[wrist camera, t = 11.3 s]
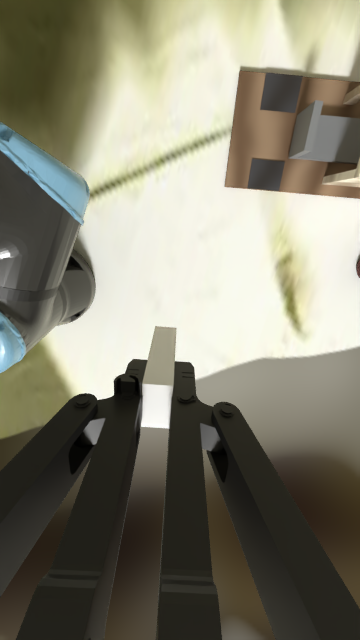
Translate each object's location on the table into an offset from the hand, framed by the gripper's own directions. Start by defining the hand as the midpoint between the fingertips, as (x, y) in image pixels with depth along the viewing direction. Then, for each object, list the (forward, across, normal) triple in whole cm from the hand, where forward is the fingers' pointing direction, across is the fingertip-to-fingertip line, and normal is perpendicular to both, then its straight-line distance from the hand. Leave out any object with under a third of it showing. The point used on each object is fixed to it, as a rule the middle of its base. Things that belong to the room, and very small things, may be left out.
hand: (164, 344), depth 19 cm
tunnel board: (+29, +22, +20) cm, 42 cm away
